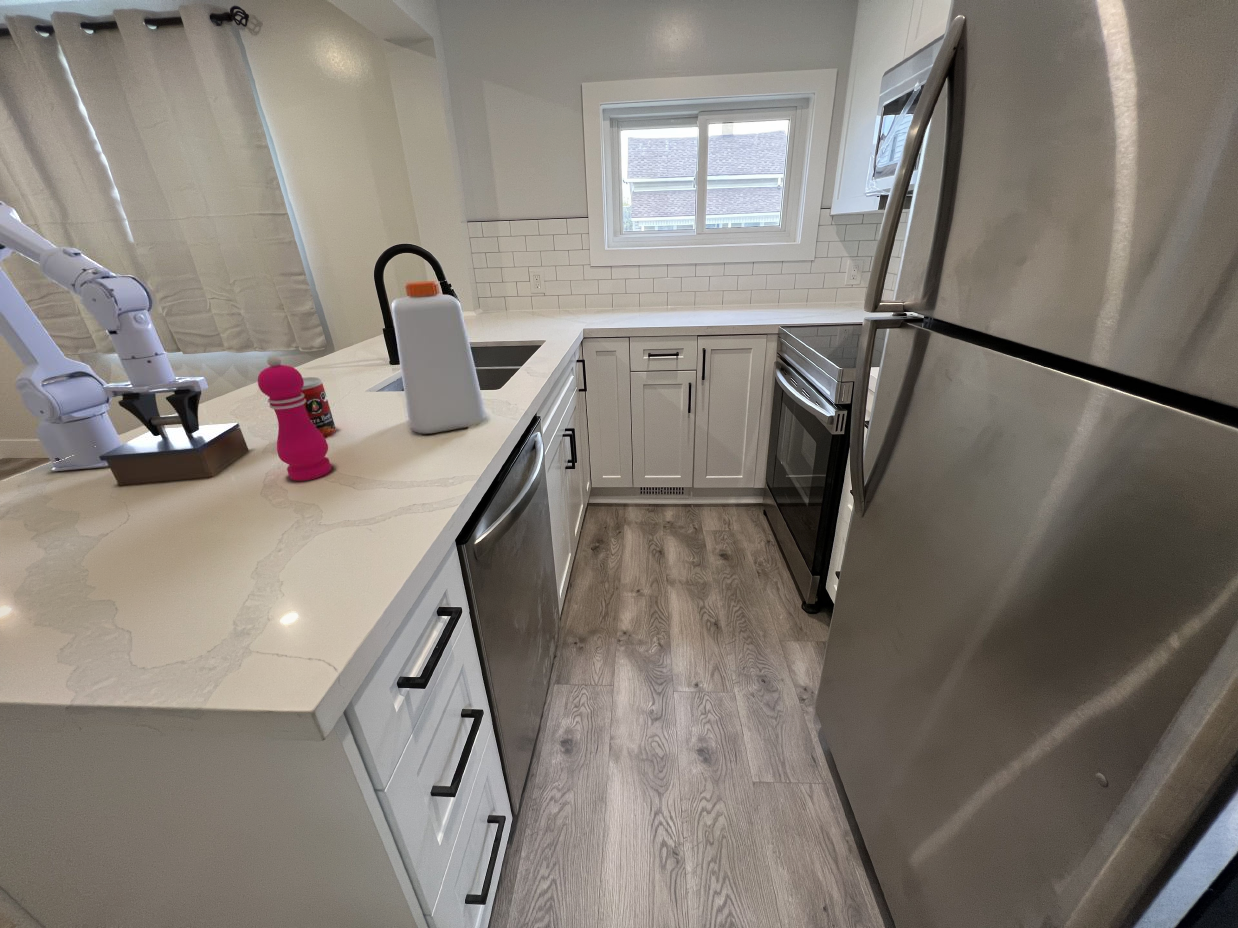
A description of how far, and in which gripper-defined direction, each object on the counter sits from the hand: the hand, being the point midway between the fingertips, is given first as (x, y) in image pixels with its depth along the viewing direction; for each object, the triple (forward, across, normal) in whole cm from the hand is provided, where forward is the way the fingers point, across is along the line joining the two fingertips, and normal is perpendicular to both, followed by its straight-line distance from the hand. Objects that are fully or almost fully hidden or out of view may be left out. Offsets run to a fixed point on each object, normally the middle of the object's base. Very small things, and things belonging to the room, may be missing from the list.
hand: (176, 433), depth 87 cm
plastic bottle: (+6, +43, +13) cm, 45 cm away
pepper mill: (+6, +24, -9) cm, 26 cm away
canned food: (+6, +17, +11) cm, 21 cm away
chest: (+6, 0, -1) cm, 6 cm away
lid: (+1, 0, -1) cm, 2 cm away
